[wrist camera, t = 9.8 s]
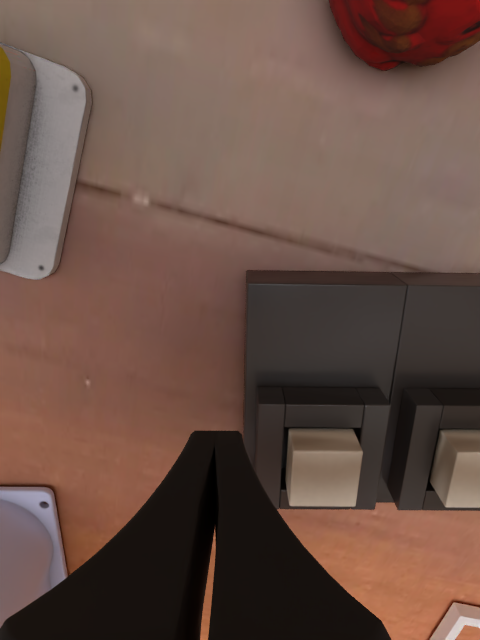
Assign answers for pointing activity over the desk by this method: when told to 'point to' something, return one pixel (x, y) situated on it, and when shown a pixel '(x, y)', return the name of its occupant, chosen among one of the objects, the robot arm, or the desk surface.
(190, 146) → the desk surface
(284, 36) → the desk surface
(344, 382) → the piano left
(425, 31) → the red clay folk toy
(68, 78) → the emergency button
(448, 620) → the photo frame
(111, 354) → the desk surface
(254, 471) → the robot arm
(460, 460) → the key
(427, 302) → the dark brown notched block
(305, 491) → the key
